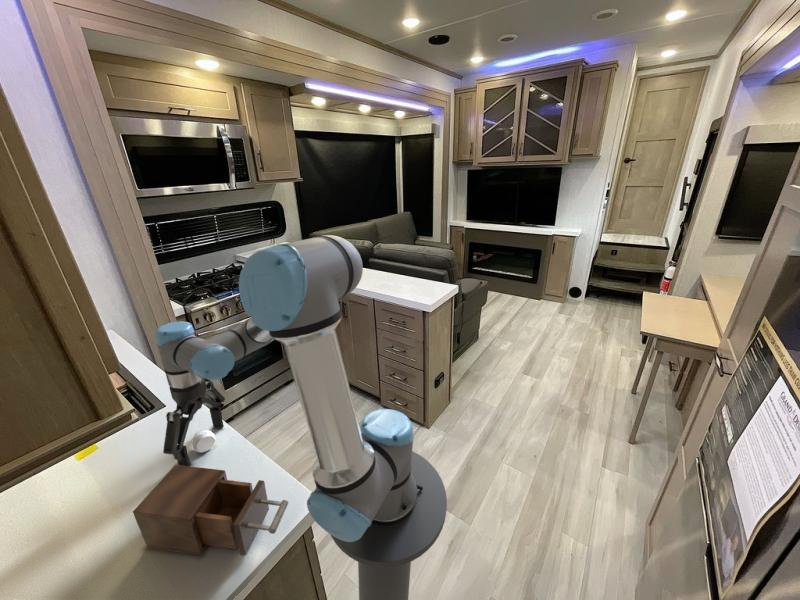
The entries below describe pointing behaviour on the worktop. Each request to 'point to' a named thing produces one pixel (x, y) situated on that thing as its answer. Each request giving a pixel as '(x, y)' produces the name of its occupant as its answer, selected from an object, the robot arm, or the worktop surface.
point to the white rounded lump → (203, 441)
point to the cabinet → (177, 509)
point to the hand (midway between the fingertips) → (203, 445)
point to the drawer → (236, 515)
